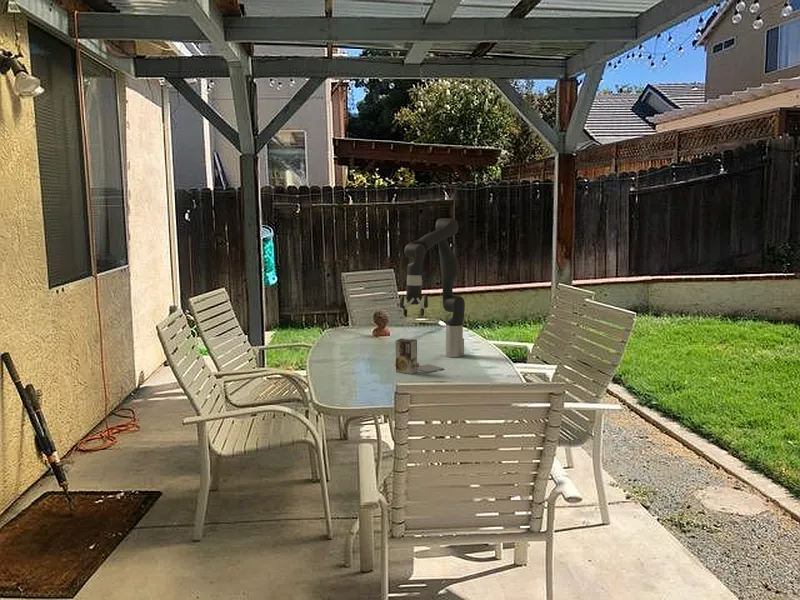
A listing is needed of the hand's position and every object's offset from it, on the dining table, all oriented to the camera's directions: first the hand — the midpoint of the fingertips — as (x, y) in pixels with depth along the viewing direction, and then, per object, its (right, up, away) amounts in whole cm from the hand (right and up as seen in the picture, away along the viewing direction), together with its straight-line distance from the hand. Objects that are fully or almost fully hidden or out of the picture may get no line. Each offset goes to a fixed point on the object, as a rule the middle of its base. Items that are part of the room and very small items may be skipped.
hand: (413, 316), depth 344 cm
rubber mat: (+7, -27, +2) cm, 28 cm away
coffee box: (-4, -28, -3) cm, 28 cm away
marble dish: (-3, -26, +8) cm, 27 cm away
